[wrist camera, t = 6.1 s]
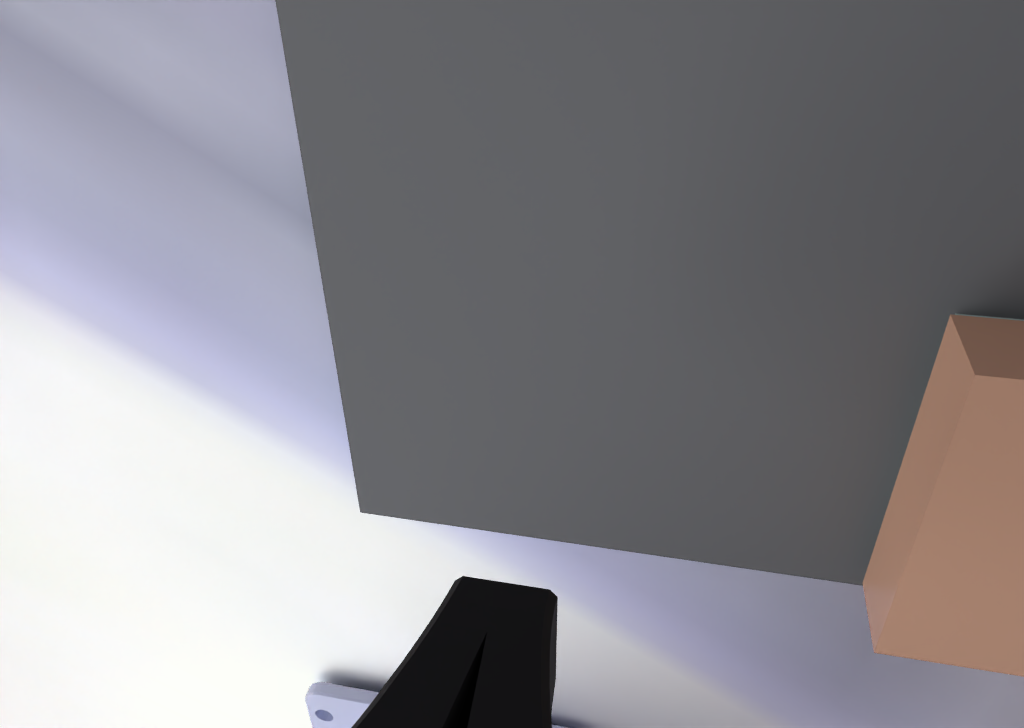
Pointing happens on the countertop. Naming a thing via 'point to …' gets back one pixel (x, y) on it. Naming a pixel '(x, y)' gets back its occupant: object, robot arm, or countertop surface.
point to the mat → (654, 256)
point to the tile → (958, 511)
